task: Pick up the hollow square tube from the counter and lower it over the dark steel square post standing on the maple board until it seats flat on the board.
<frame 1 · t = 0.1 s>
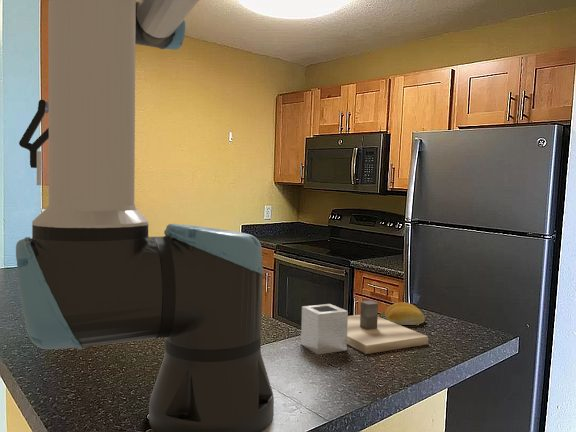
hand: (77, 186, 95), 28 cm above the counter, fingers open, 13 cm apart
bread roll: (403, 322, 105), on the counter
hollow square tube: (323, 347, 85), on the counter
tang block: (368, 335, 93), on the counter
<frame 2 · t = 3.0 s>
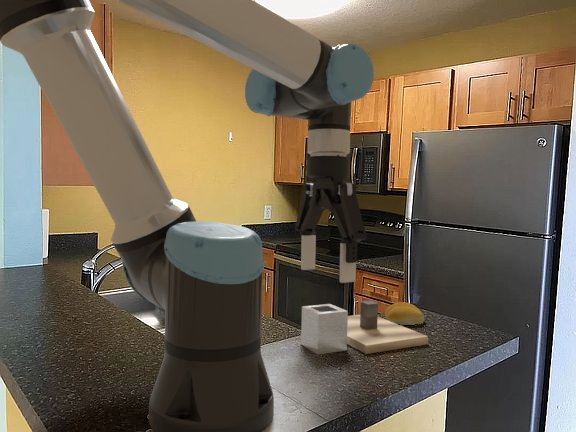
hand: (326, 275, 85), 13 cm above the counter, fingers open, 13 cm apart
nothing on the counter moved.
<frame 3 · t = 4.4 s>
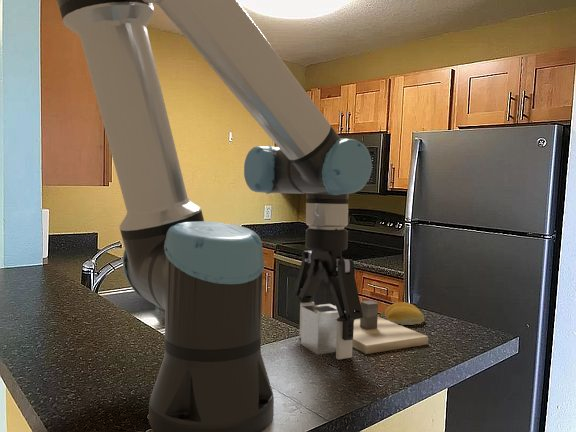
hand: (324, 346, 85), 0 cm above the counter, fingers open, 12 cm apart
nothing on the counter moved.
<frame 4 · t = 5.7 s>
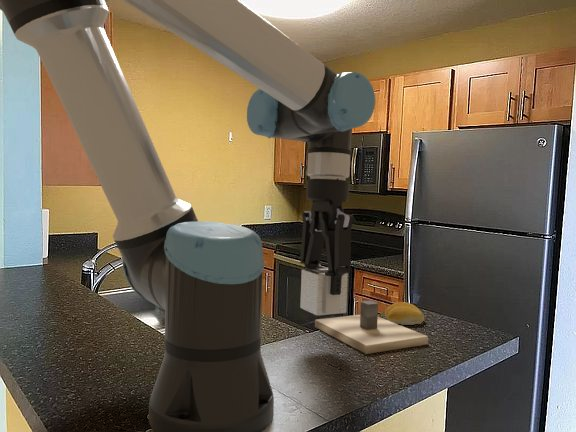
hand: (321, 308, 85), 7 cm above the counter, fingers closed on hollow square tube, 6 cm apart
hollow square tube: (322, 310, 85), point 7 cm above the counter, touching gripper
everything else where it was.
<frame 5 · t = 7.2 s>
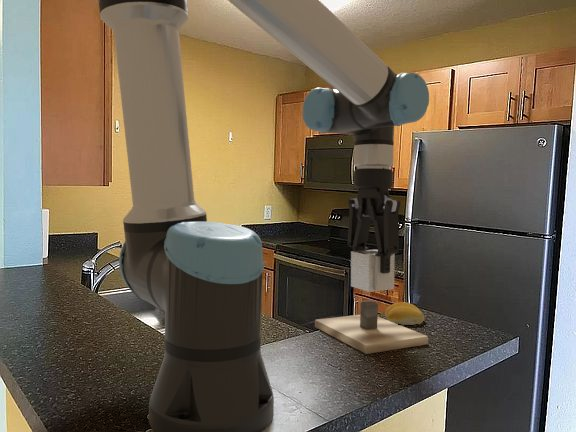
hand: (370, 286, 93), 10 cm above the counter, fingers closed on hollow square tube, 6 cm apart
hollow square tube: (372, 287, 93), point 9 cm above the counter, touching gripper
everything else where it was.
when the fingers open (2 cm above the counter, at t = 8.8 s): hollow square tube stays where it is, resting on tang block.
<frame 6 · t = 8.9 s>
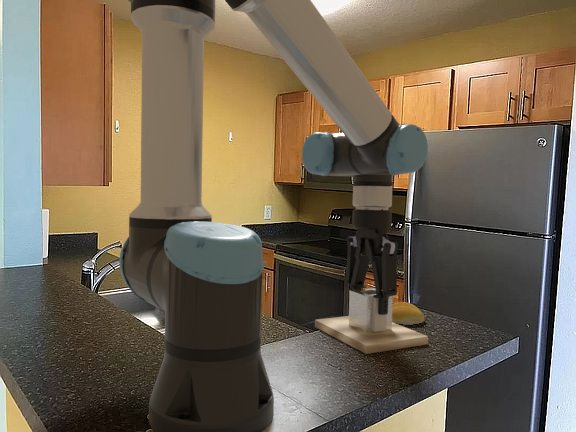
hand: (368, 325, 93), 2 cm above the counter, fingers open, 6 cm apart
hollow square tube: (369, 327, 93), point 2 cm above the counter, touching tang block
everything else where it was.
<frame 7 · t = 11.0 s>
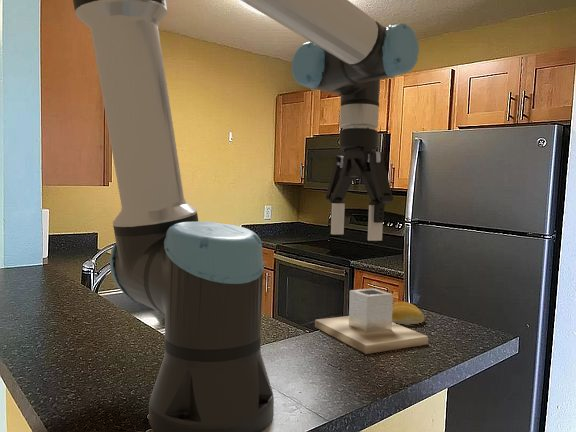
hand: (354, 237, 94), 19 cm above the counter, fingers open, 13 cm apart
nothing on the counter moved.
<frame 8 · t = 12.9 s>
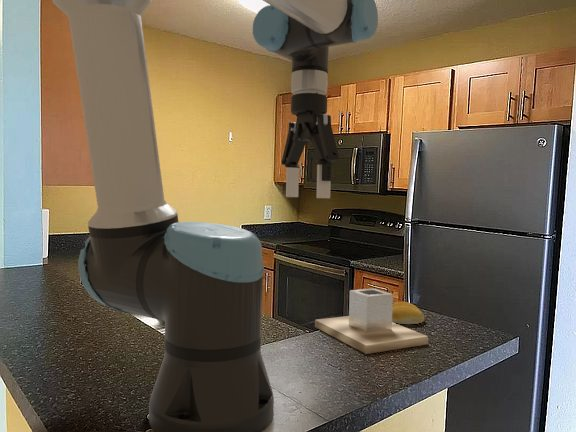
hand: (306, 197, 99), 27 cm above the counter, fingers open, 13 cm apart
nothing on the counter moved.
at the end: hollow square tube 0.3 cm off-centre on the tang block, point 1.5 cm above the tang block's base; hollow square tube tilted 0°; the gripper is holding nothing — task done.
